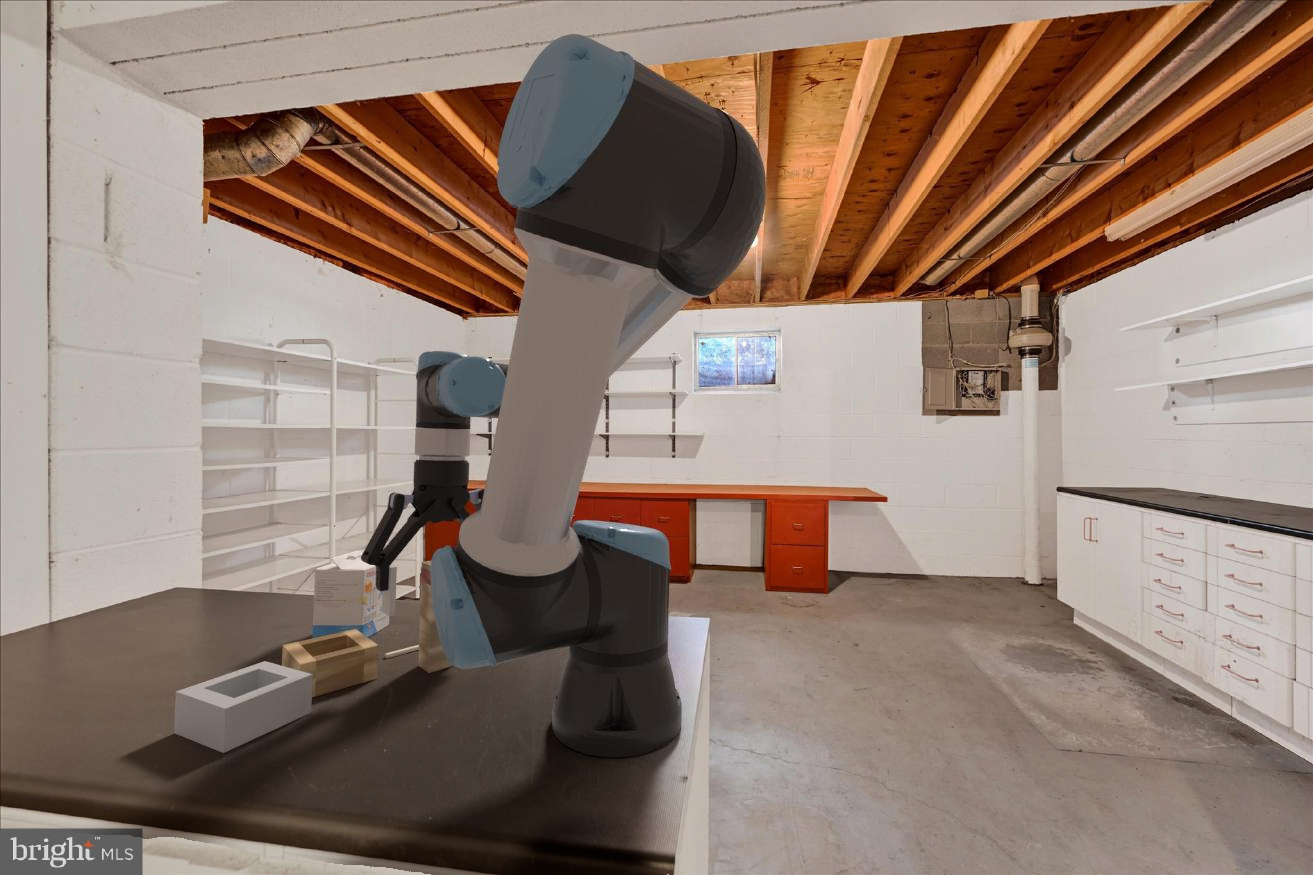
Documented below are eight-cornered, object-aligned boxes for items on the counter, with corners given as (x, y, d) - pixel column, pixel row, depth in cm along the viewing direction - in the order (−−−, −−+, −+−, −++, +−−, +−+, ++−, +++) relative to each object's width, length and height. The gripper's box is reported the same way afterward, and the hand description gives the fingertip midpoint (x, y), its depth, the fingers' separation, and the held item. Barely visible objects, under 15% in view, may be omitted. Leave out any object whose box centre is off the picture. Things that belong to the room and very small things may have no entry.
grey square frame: (311, 712, 61) (312, 674, 61) (223, 753, 53) (225, 708, 53) (263, 697, 65) (264, 661, 65) (174, 733, 56) (175, 691, 56)
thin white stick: (451, 640, 85) (451, 637, 85) (386, 658, 77) (387, 654, 77) (449, 639, 85) (449, 636, 85) (385, 656, 78) (385, 653, 78)
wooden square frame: (377, 678, 70) (378, 645, 71) (299, 701, 64) (300, 664, 64) (354, 659, 76) (355, 628, 77) (281, 678, 70) (282, 645, 70)
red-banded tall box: (454, 665, 75) (457, 562, 75) (429, 673, 72) (432, 566, 73) (442, 658, 78) (445, 558, 78) (417, 665, 75) (421, 562, 75)
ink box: (361, 642, 83) (364, 559, 83) (310, 641, 83) (313, 558, 84) (390, 624, 92) (392, 549, 92) (343, 623, 92) (346, 548, 92)
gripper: (504, 457, 87) (500, 582, 87) (338, 457, 69) (332, 615, 69) (529, 459, 82) (525, 591, 82) (357, 459, 64) (351, 630, 64)
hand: (437, 603), depth 75 cm, fingers open, 13 cm apart
